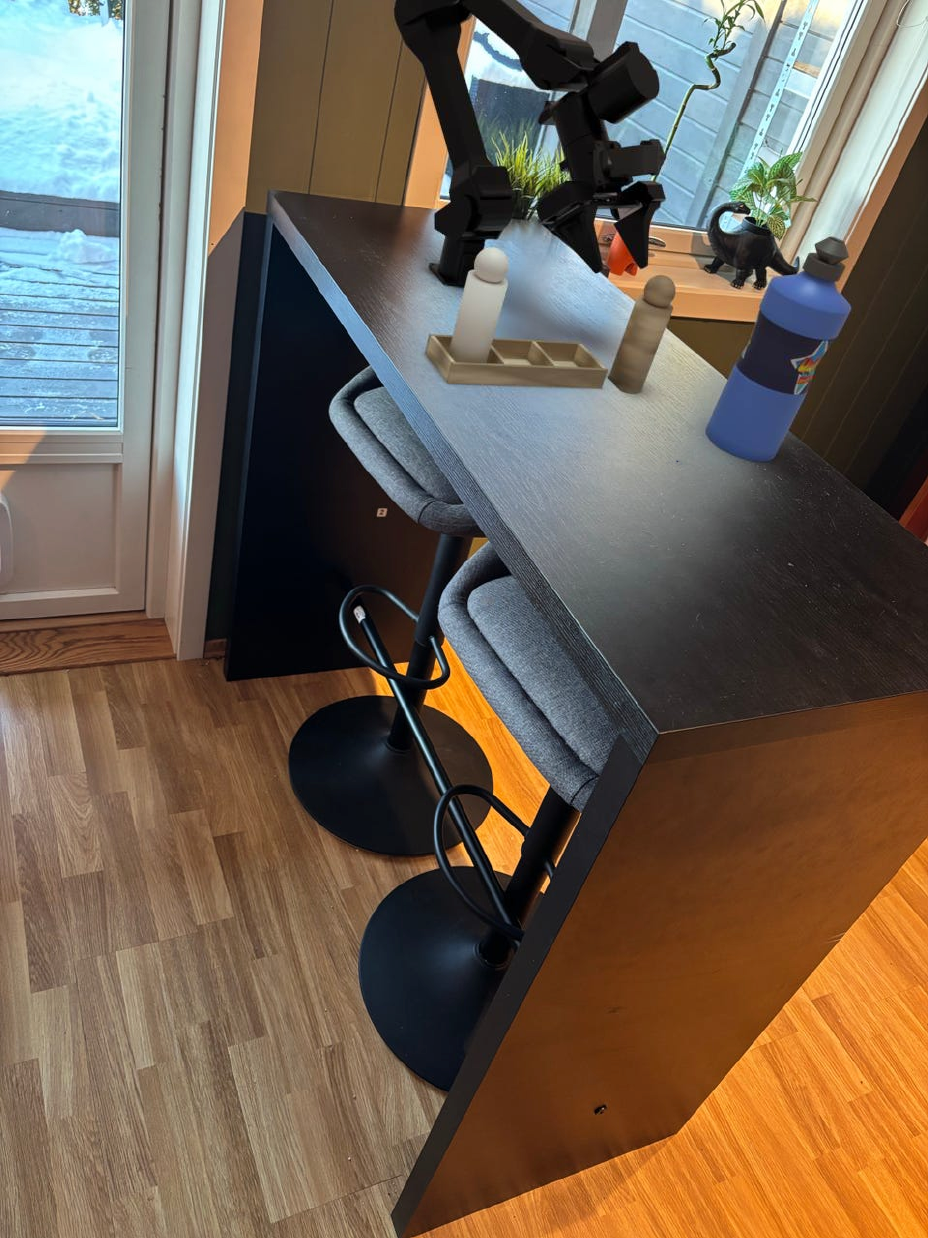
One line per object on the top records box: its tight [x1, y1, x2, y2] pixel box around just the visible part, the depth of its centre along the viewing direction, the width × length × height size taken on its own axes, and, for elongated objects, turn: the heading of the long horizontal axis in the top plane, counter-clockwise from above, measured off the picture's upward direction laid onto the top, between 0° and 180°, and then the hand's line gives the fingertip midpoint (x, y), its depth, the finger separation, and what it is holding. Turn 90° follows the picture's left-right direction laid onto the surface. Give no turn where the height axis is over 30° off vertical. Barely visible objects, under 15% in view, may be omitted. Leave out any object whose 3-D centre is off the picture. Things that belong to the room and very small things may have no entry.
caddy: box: [424, 333, 609, 389], centre depth 115 cm, size 7×21×3 cm, turn 113°
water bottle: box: [705, 236, 852, 463], centre depth 110 cm, size 9×9×25 cm
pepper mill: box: [607, 274, 676, 394], centre depth 118 cm, size 5×5×14 cm
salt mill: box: [449, 246, 510, 363], centre depth 108 cm, size 5×5×14 cm
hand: (622, 269), depth 118 cm, fingers open, 9 cm apart
